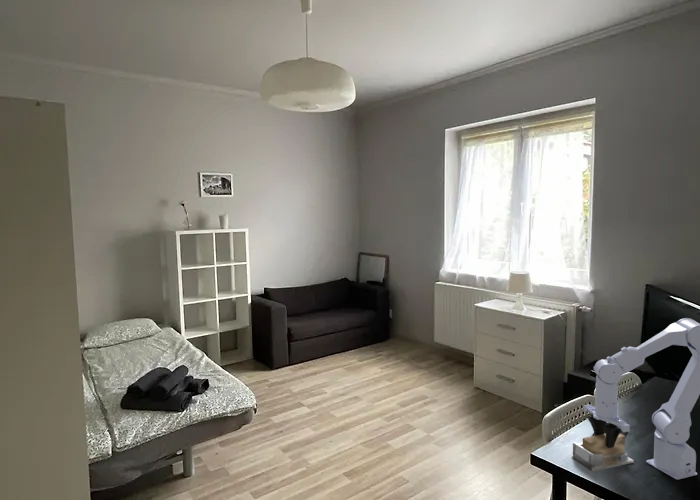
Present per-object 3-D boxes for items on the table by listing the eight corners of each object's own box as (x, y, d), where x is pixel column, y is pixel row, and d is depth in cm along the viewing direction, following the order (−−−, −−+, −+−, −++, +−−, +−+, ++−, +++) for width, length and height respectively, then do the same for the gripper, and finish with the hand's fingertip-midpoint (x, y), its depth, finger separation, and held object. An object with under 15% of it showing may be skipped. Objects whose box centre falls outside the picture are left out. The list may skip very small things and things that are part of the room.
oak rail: (616, 446, 135) (616, 431, 135) (624, 451, 132) (625, 435, 132) (582, 454, 132) (582, 438, 131) (590, 459, 129) (590, 442, 128)
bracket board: (610, 449, 138) (611, 434, 137) (633, 462, 130) (633, 446, 130) (571, 457, 133) (571, 441, 133) (592, 471, 126) (593, 455, 125)
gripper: (576, 392, 136) (575, 434, 137) (616, 412, 123) (615, 458, 124) (594, 390, 138) (593, 431, 139) (636, 409, 124) (634, 454, 125)
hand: (604, 443), depth 132 cm, fingers open, 3 cm apart
